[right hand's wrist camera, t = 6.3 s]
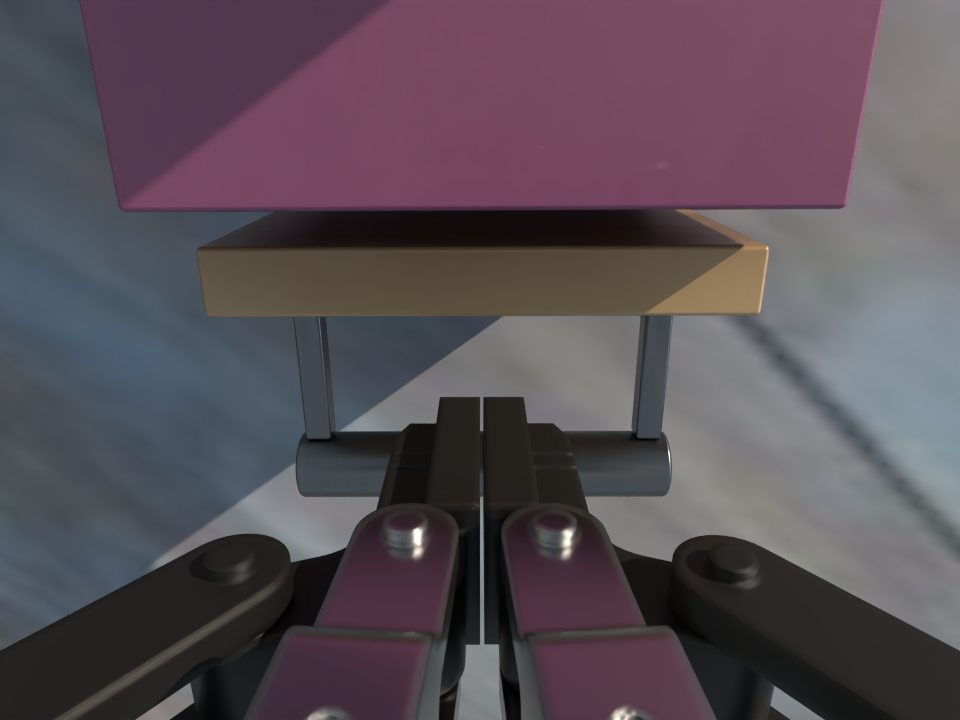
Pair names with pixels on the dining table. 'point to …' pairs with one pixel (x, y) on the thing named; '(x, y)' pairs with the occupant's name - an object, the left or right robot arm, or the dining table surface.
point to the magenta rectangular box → (481, 103)
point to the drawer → (483, 306)
